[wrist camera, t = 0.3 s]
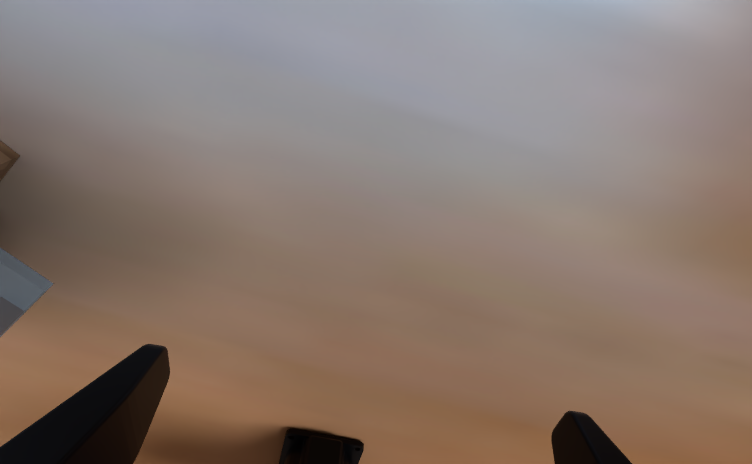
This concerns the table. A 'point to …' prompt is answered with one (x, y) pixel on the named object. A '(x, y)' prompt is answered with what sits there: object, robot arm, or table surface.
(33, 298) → the lid
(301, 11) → the table surface
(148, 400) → the robot arm
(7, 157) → the walnut box
